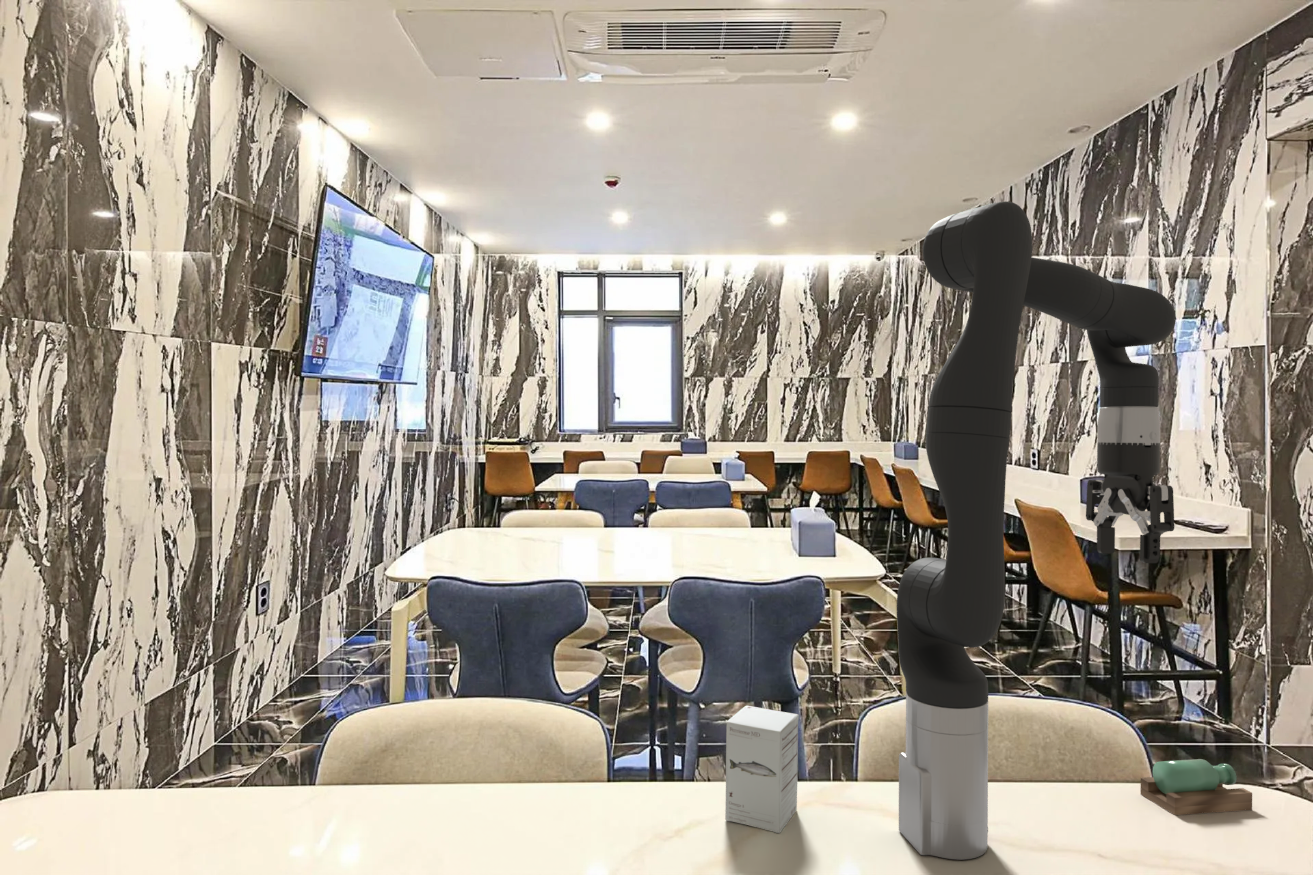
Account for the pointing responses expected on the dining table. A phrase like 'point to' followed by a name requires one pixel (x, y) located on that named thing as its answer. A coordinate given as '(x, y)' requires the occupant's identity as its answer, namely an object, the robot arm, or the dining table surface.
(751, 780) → the supplement box
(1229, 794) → the bottle rest
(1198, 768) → the bottle
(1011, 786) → the dining table surface
